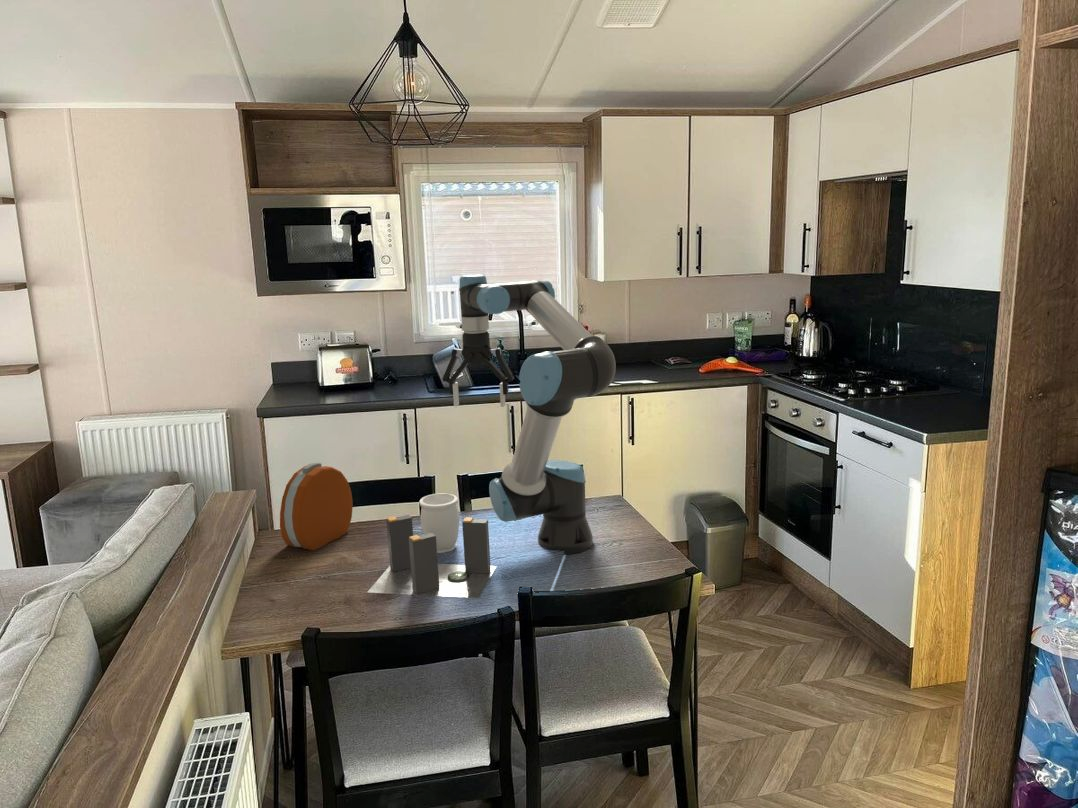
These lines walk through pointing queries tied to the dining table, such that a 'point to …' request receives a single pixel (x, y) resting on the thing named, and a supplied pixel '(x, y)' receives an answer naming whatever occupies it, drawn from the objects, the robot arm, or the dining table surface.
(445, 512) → the jar
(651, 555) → the dining table surface
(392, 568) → the grey tall block
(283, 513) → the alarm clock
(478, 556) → the grey tall block piece
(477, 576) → the plate
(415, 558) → the grey standing slab
